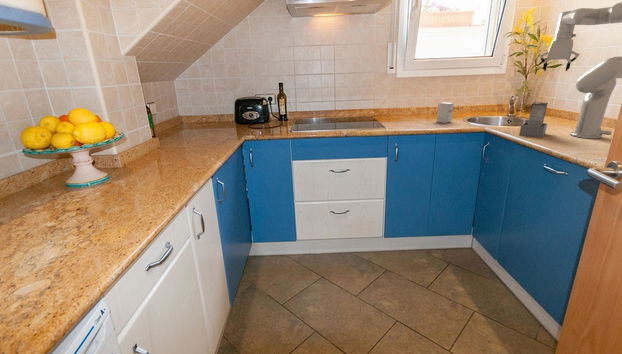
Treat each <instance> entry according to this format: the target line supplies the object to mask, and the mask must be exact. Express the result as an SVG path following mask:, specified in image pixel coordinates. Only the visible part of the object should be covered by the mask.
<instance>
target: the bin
mask: <svg viewBox="0 0 622 354" xmlns="http://www.w3.org/2000/svg"><path fill="white" fill-rule="evenodd" d="M547 126H548V123H545V122H543V125H542V127H539V126H528V121H524V122H523V123H522V124H521V125H520V129H519V133H518V136H522V137H533V138H543V137H544V135H545V134H546V131H547V128H548V127H547Z"/></svg>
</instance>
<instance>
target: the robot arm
mask: <svg viewBox="0 0 622 354" xmlns="http://www.w3.org/2000/svg"><path fill="white" fill-rule="evenodd" d="M619 23H620V24H622V2H617V3H615V4H614V5H613V6H609V7H602V8H599V7H598V8H586V7H583V8H577V9H574V10H567V11H562V12H560V14H559V17H558V21H557V25H556V29H555V34H554V37H553V39H552V41H551V43H550V45H549V49H548V51H547V52H544V53H542V54H539V58H540V61H541V62H542V63H543V67H542V70H543V71H544V72H545V71H547V68H548V62H549V61H550V60H553V61H555V60H566V61H567V63H566V67H565V72H568V70H570V68H571V64H572V63H573V62H575V60H577V58H578V57H579V56H580V53H578V52H575V51H573V47H574V39H572V38H576V35H577V33H574V31H575V26H597V25H609V24H611V25H612V24H619ZM572 55H574V57H573V58H571V56H572ZM544 56H546V59H545V58H544ZM617 79H622V56H613V57H610V58H607V59H604V60H603V61H602V62H600V63H598V64H597V65H596V66H594V67H593V68H591V69H590V70H588V71H586V72H585V73H583V74H581V76H580V77H579V78H577V81H576V82H575V83H576V84H575V88H576V90H577V91H578V92H580V93H582V94H586V95H585V96H584V98H583V100H582V104H581V107H580V110H579V111H580V112H579V115H578V119H577V122H576V125H575V129H574V131H572V132H570V136H572V137H575V138H576V137H577V138H582V139H591V140H592V139H593V140H594V139H595V140H596V139H602V137H603V135H606V136H611V135H612V133H613V132H612V131H611V130H604V129H602V128H601V127H602V124H603V122H604V121H603V120H604V117H605V114H606V110H607V107H608V105H609V101H610V99H611V96H612V93H613V91H614V90H615V87H616V85H617Z"/></svg>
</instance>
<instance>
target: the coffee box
mask: <svg viewBox="0 0 622 354" xmlns="http://www.w3.org/2000/svg"><path fill="white" fill-rule="evenodd" d="M547 107H548V102H538V101H536V102H535V101H533V103H531V107H530V111H529V115H528V116H529V117H528V121H527V122H528V126H539V127H542V125H543V123H544V120H545V116H546V113H547Z"/></svg>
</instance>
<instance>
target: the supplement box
mask: <svg viewBox="0 0 622 354" xmlns="http://www.w3.org/2000/svg"><path fill="white" fill-rule="evenodd" d="M454 105H455V103H454V102H447V101H446V102H445V101H443V102H438V105H437V106H438V107H437V113H436V120H435V122H437V123H442V124H443V123H444V124H446V123H451V122H452V121H453V120H452V119H453V110H454Z"/></svg>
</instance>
